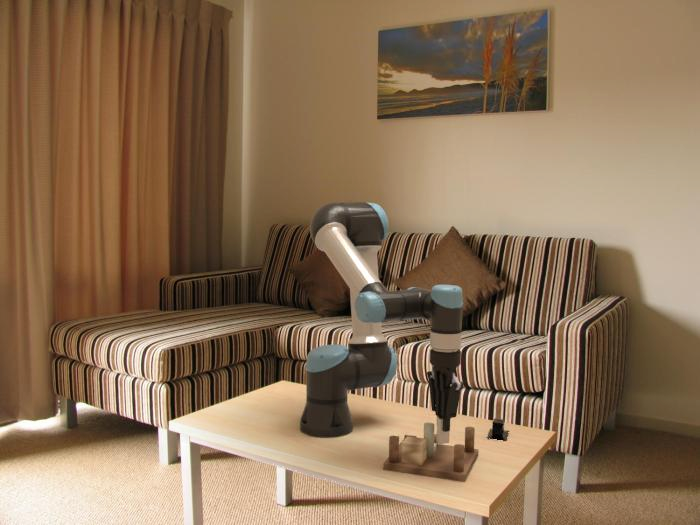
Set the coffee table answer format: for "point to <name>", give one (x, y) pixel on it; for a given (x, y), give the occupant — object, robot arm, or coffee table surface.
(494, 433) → the black bracket plate
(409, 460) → the maple block
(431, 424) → the gate leg
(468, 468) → the stool board
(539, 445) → the coffee table surface
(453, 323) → the robot arm
